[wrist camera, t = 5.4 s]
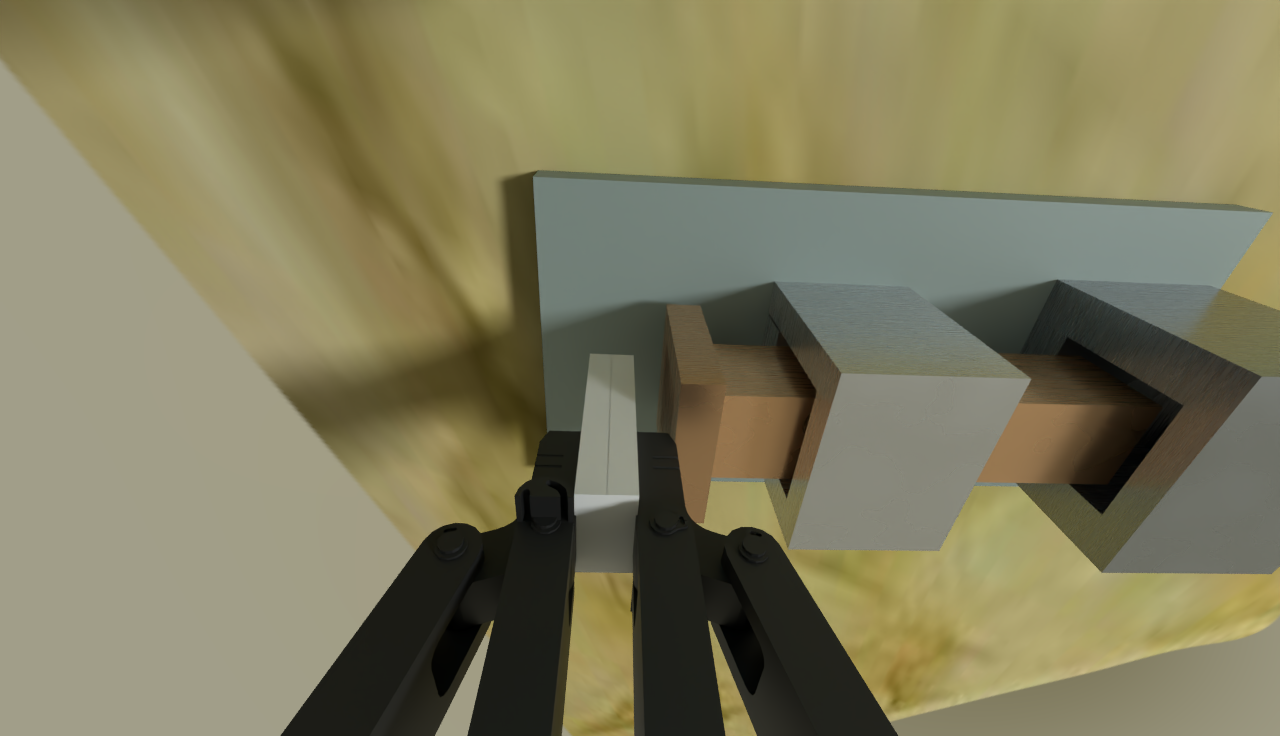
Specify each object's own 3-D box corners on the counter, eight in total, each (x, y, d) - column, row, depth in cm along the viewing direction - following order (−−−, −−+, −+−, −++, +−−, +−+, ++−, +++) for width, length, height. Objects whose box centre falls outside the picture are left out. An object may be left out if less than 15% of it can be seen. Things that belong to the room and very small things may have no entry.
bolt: (666, 304, 17) (681, 384, 13) (1072, 318, 18) (1218, 398, 14) (656, 422, 20) (665, 522, 16) (1010, 430, 21) (1116, 528, 16)
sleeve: (774, 281, 18) (841, 373, 12) (908, 286, 18) (1031, 378, 13) (745, 426, 21) (788, 549, 16) (858, 429, 22) (939, 550, 16)
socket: (1057, 279, 18) (1261, 376, 12) (1210, 285, 19) (1479, 383, 13) (975, 440, 22) (1102, 572, 16) (1102, 443, 22) (1271, 573, 17)
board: (538, 170, 17) (533, 176, 16) (1235, 205, 18) (1273, 212, 17) (553, 460, 24) (549, 478, 22) (1063, 470, 25) (1082, 487, 24)
